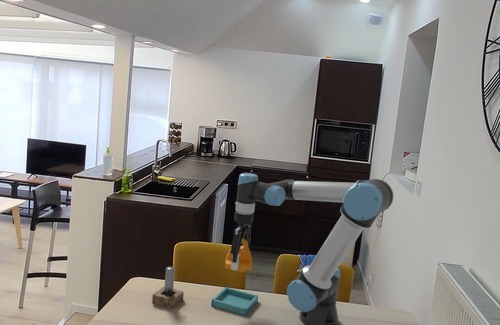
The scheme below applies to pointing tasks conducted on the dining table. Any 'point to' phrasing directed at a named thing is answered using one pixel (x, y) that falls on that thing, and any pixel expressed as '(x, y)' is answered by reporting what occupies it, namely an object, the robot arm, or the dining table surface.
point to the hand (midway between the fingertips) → (238, 265)
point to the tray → (235, 300)
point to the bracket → (241, 258)
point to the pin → (169, 281)
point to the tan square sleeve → (167, 298)
